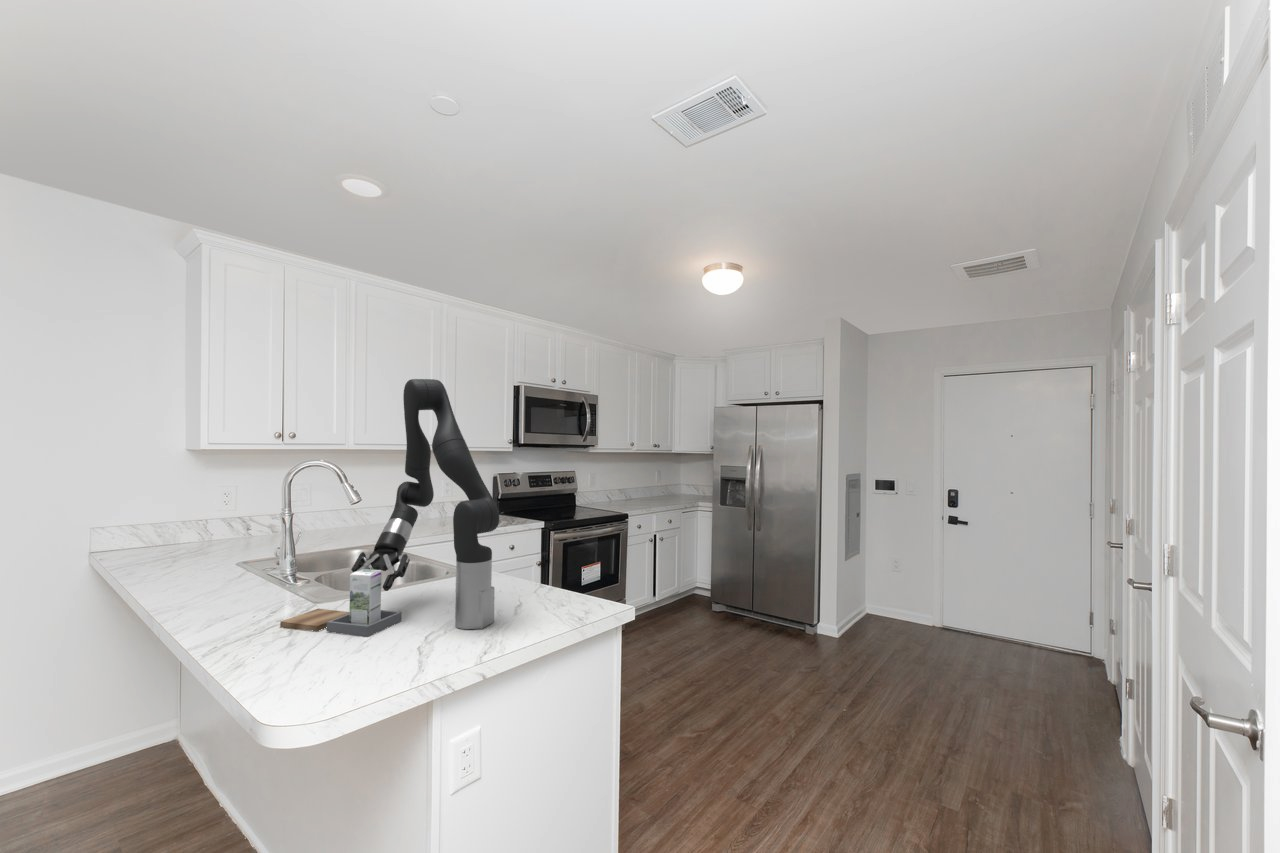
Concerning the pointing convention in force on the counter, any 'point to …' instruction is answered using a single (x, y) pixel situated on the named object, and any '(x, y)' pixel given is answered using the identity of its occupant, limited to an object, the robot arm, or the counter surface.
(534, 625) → the counter surface
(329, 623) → the frame
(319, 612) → the walnut board
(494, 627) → the counter surface
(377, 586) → the syrup box
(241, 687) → the counter surface
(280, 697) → the counter surface
